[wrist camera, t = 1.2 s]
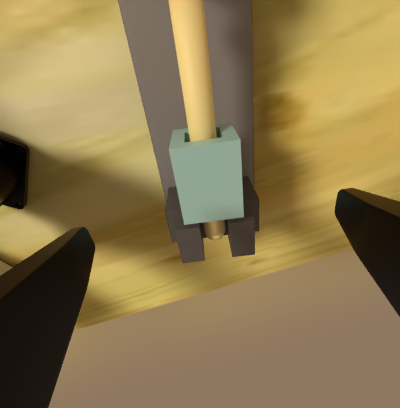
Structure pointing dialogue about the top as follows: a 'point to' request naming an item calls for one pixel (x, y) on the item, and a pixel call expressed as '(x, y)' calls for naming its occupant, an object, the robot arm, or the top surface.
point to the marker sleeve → (208, 175)
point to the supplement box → (4, 267)
